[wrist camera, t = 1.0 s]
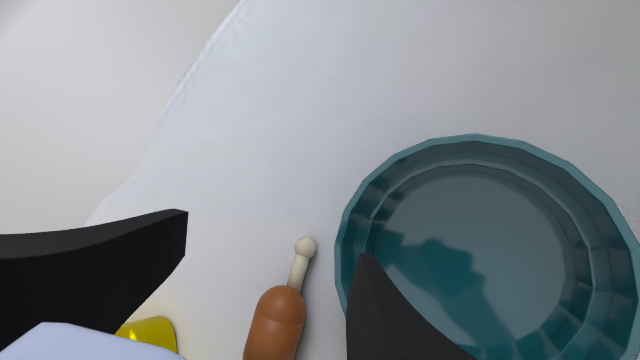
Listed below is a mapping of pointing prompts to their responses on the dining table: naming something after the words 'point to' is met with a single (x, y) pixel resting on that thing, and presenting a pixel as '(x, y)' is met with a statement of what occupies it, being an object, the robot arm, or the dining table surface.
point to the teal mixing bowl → (499, 249)
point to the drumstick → (281, 313)
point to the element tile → (150, 332)
